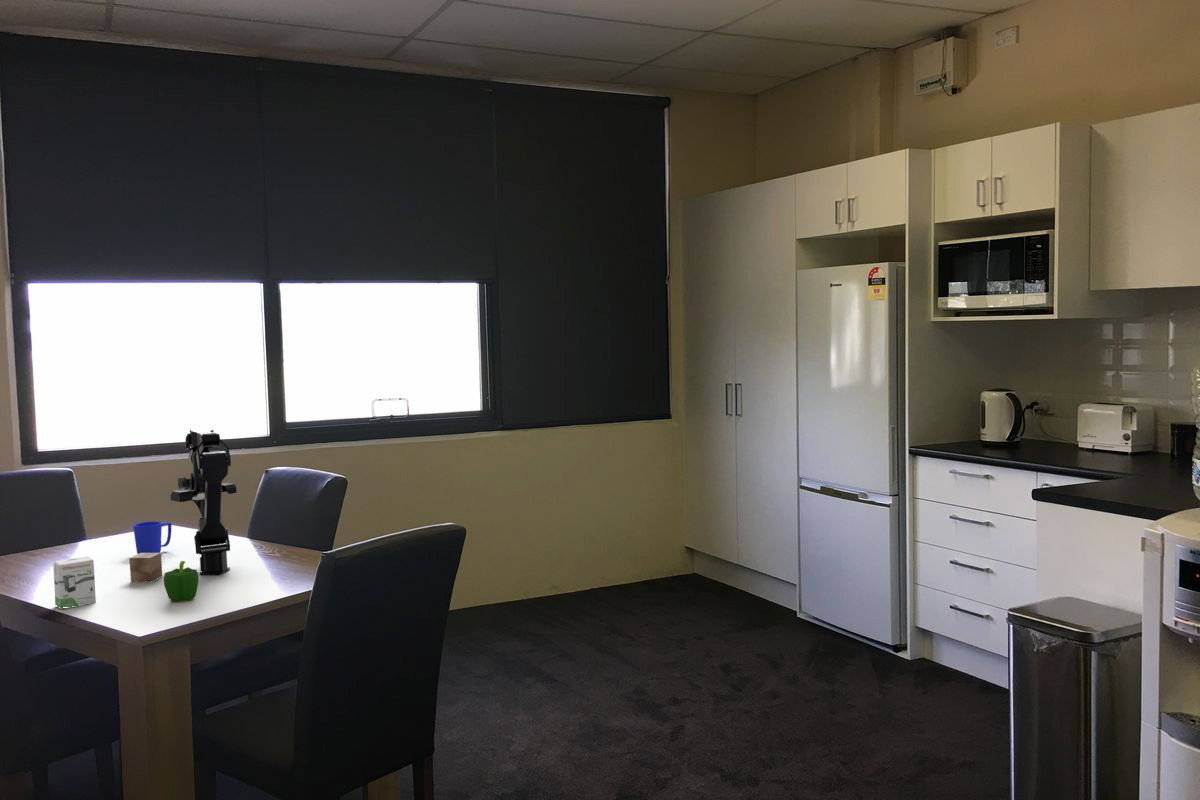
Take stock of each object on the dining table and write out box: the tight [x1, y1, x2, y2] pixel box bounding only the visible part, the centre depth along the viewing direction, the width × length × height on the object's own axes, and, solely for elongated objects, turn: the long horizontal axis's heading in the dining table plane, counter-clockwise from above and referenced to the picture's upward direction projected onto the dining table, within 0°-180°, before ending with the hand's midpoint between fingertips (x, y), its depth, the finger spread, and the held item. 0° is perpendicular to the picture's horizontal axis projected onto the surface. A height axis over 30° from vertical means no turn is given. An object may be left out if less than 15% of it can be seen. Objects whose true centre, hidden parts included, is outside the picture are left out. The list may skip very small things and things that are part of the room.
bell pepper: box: [163, 560, 199, 603], centre depth 254 cm, size 8×8×10 cm
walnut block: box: [129, 552, 163, 583], centre depth 276 cm, size 6×6×7 cm
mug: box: [132, 520, 172, 555], centre depth 307 cm, size 8×12×10 cm
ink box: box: [53, 556, 97, 609], centre depth 251 cm, size 9×5×12 cm, turn 133°
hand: (205, 520), depth 294 cm, fingers closed
